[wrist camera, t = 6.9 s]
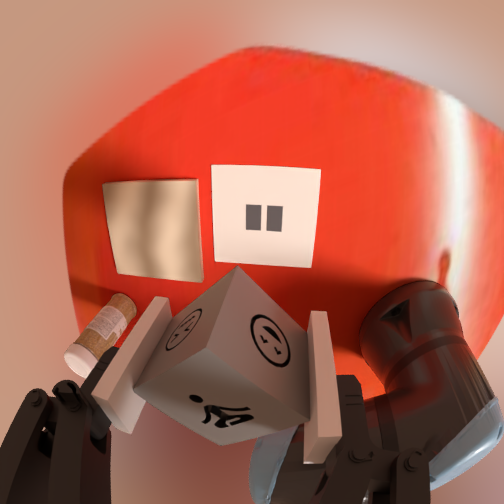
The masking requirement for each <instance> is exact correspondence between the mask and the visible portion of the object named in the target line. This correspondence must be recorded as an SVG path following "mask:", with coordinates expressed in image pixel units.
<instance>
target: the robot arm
mask: <svg viewBox="0 0 504 504" xmlns="http://www.w3.org/2000/svg"><path fill="white" fill-rule="evenodd" d="M171 319H172V313H171V308H170V303H169V298H166V297H159V296H155V297H154V299H153V300H152V302H151V303H150V304H149V306H148V307H147V309H146V310H145V312H144V313H143V315H142V316H141V317H140V319H139V320H138V322H137V323H136V325H135V326H134V328H133V329H132V331H131V332H130V334H129V335H128V337H127V338H126V340H125V341H124V343H123V344H122V346H121V347H120V348H118V347H114V346H112V347H110V348H109V349H108V350H106V351H105V352H104V353H103V354H102V356H101V357H100V359H99V360H98V362H97V363H96V365H95V366H94V368H93V369H92V371H91V372H90V374H89V375H88V377H87V378H86V380H85V381H84V383H83V384H82V386H81V388H79V387H78V385H77V384H76V383H75V382H74V381H71V380H63V381H60V382H58V383H57V384H56V385H55V386H54V388H53V390H52V392H53V394H54V395H55V396H56V397H49V396H48V395H47V393H46V392H45V391H44V390H42V389H39V388H37V389H33V390H31V391H30V392H29V393H28V394H27V395H26V397H25V399H24V401H23V402H22V404H21V406H20V408H19V410H18V412H17V414H16V416H15V418H14V420H13V422H12V424H11V426H10V428H9V430H8V432H7V434H6V436H5V438H4V441H3V443H2V445H1V447H0V504H111V485H110V484H111V482H110V459H111V458H110V457H111V431H110V430H109V427H110V425H111V423H112V424H113V425H114V427H115V428H116V429H118V430H121V431H124V432H126V433H129V434H132V431H133V429H134V427H135V424H136V422H137V420H138V418H139V416H140V413H141V411H142V409H143V407H144V404H145V402H146V401H145V400H144V399H142V398H141V397H140V396H138V395H137V394H135V393H134V391H133V388H134V386H135V384H136V382H137V380H138V378H139V377H140V375H141V373H142V371H143V369H144V367H145V366H146V364H147V362H148V360H149V358H150V357H151V355H152V353H153V351H154V349H155V348H156V346H157V344H158V342H159V340H160V339H161V337H162V335H163V333H164V332H165V330H166V328H167V326H168V325H169V323H170V321H171ZM307 336H308V356H309V382H310V421H308V422H305V423H302V424H299V425H297V426H294V427H291V428H287V429H284V430H281V431H278V432H275V433H271V434H268V435H264V436H260V437H258V439H257V441H256V443H255V446H254V450H253V452H252V456H251V461H250V468H249V488H250V494H251V497H252V499H253V501H254V503H255V504H430V491H431V490H433V489H435V488H438V487H439V486H441V485H443V484H445V483H447V482H449V481H450V480H452V479H454V478H455V477H457V476H458V475H460V474H462V473H463V472H465V471H466V470H468V469H469V468H471V467H472V466H473V465H475V464H476V463H477V462H478V461H480V460H481V459H482V458H483V457H485V456H486V455H487V454H488V453H489V452H490V451H491V450H492V449H493V448H494V447H495V446H496V445H497V444H498V442H499V441H500V439H501V438H502V436H503V433H504V420H503V416H502V413H501V410H500V407H499V404H498V398H497V397H495V395H494V393H493V391H492V389H491V387H490V385H489V383H488V381H487V379H486V377H485V375H484V373H483V371H482V369H481V367H480V366H479V364H478V362H477V360H476V358H475V357H474V355H473V353H472V351H471V350H470V348H469V346H468V345H467V343H466V341H465V339H464V336H463V331H462V326H461V323H460V320H459V312H458V308H457V305H456V302H455V301H454V299H453V298H452V296H451V295H450V294H449V292H448V291H447V290H446V289H445V288H444V287H443V286H441V285H440V284H438V283H435V282H430V281H419V282H413V283H410V284H407V285H404V286H402V287H399V288H397V289H395V290H394V291H392V292H390V293H389V294H387V295H386V296H385V297H383V298H382V299H381V300H380V301H379V302H378V303H377V304H376V305H375V306H374V307H373V308H372V309H371V310H370V311H369V313H368V314H367V316H366V317H365V319H364V321H363V323H362V326H361V329H360V333H359V343H360V348H361V352H362V355H363V358H364V360H365V362H366V363H367V364H368V365H369V366H370V367H371V369H372V370H373V372H374V373H375V374H376V376H377V377H378V378H379V380H380V381H381V382H382V384H383V385H384V388H385V392H386V394H382V395H379V396H376V397H374V398H373V397H372V398H369V399H365V400H363V397H362V390H361V384H360V383H359V381H358V380H357V378H356V377H355V376H354V375H336V372H335V364H334V357H333V350H332V343H331V336H330V330H329V323H328V317H327V311H311V313H310V319H309V325H308V330H307ZM44 427H45V428H46V429H45V430H44V431H42V430H43V428H44Z"/></svg>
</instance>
